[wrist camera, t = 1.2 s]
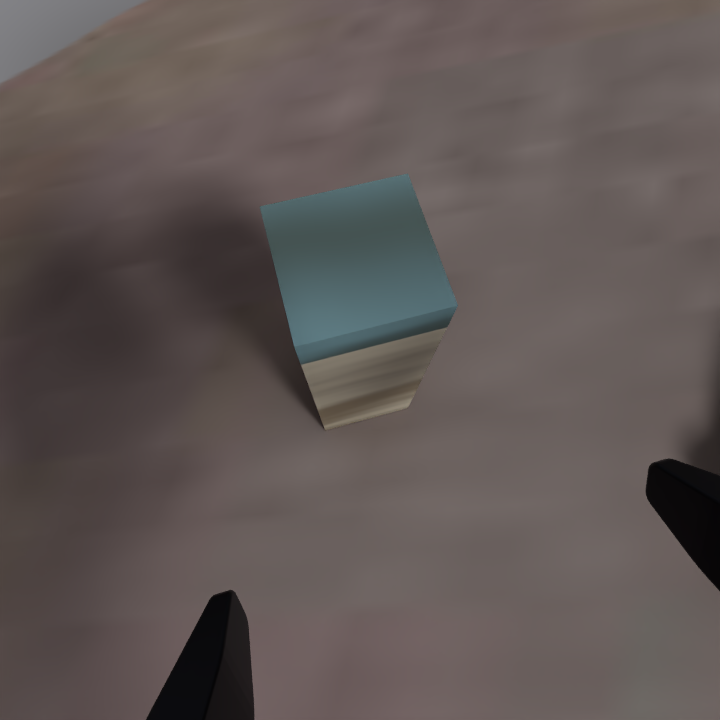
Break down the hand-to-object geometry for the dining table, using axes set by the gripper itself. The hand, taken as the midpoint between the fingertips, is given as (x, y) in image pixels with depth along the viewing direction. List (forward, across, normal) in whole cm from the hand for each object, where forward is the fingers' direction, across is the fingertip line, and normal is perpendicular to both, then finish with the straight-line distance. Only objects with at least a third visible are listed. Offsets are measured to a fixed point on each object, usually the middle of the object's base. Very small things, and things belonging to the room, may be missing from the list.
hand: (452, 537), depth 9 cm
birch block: (+15, 0, +4) cm, 16 cm away
